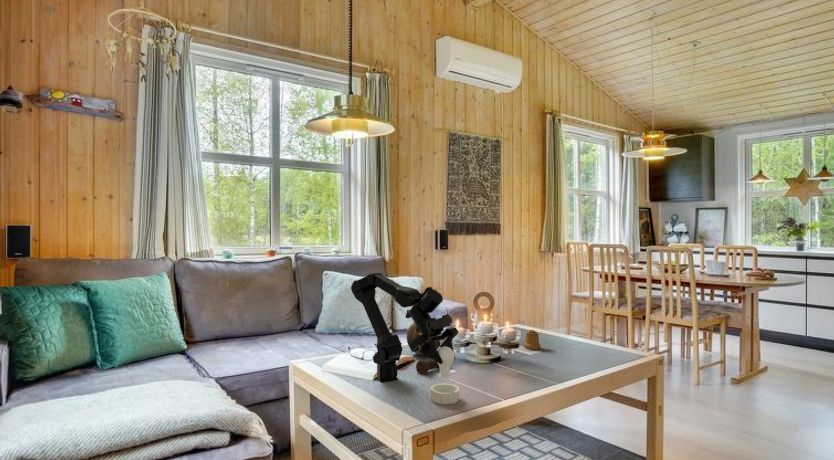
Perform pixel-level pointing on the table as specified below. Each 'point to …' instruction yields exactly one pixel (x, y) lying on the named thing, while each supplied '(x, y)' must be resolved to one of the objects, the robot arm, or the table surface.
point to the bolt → (426, 366)
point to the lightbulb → (445, 361)
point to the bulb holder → (444, 394)
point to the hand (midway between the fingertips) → (448, 361)
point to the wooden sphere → (413, 333)
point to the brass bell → (532, 340)
